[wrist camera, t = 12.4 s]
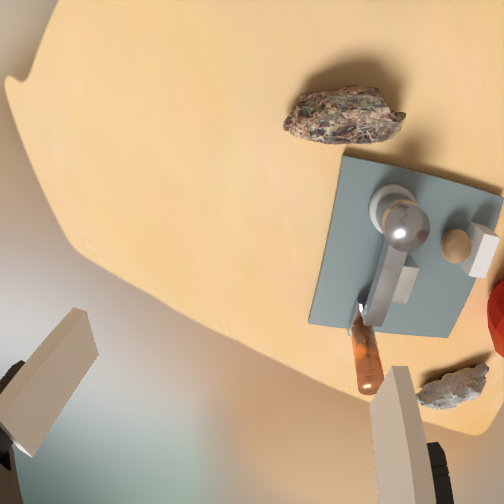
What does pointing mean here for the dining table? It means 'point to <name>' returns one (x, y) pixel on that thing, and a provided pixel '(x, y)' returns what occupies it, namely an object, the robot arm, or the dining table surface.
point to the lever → (387, 282)
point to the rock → (344, 117)
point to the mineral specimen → (453, 388)
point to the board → (426, 256)
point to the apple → (497, 317)
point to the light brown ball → (455, 245)
